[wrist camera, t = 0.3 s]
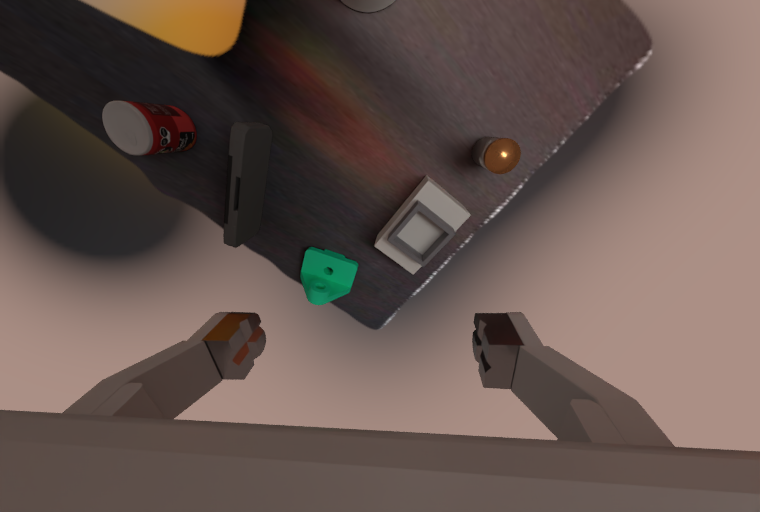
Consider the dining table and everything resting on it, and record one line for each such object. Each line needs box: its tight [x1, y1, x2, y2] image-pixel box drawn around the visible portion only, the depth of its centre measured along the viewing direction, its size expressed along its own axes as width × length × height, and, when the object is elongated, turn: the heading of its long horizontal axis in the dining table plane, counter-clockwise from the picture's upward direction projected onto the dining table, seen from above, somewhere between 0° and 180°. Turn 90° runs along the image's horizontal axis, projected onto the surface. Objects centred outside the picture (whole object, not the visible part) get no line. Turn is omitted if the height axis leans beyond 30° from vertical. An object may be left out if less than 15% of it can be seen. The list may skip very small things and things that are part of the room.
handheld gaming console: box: [224, 122, 272, 247], centre depth 51 cm, size 23×3×10 cm, turn 162°
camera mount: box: [300, 247, 358, 305], centre depth 58 cm, size 12×8×10 cm, turn 72°
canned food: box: [102, 101, 197, 155], centre depth 47 cm, size 8×8×11 cm
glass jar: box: [471, 137, 521, 174], centre depth 44 cm, size 5×5×10 cm
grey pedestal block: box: [374, 175, 471, 274], centre depth 52 cm, size 16×10×9 cm, turn 143°
